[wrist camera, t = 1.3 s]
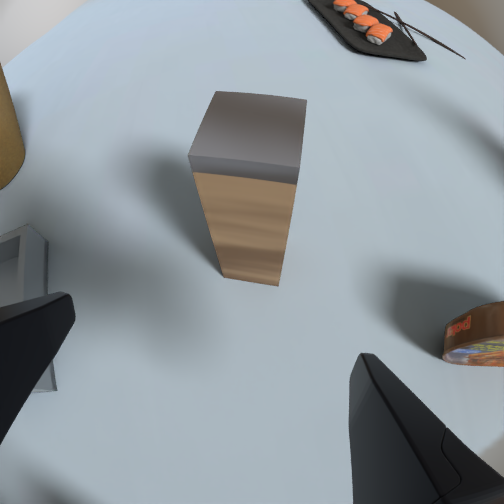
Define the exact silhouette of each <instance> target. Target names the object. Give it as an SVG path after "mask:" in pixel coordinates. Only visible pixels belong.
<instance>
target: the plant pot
mask: <svg viewBox="0 0 504 504" xmlns="http://www.w3.org/2000/svg"><path fill="white" fill-rule="evenodd" d="M24 157H25V149H24V145H23V141H22V136H21V132H20V128H19V124H18V120H17V117H16V113H15V109H14V106H13V102H12V99H11V95H10V92H9V89H8V85H7V82H6V79H5V76H4V73H3V70H2V67H1V63H0V189H2V188H3V187H5V186H6V185H7V184H8V183H9V182H10V181H11V180H12V179H13V177H14V176H15V175H16V174H17V172H18V171H19V169H20V167H21V165H22V163H23V161H24Z"/></svg>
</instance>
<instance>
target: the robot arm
mask: <svg viewBox="0 0 504 504" xmlns="http://www.w3.org/2000/svg"><path fill="white" fill-rule="evenodd" d="M75 317H76V316H75V310H74V305H73V300H72V297H71V295H70V294H67V293H64V292H56V293H53V294H49V295H45V296H41V297H37V298H33V299H30V300H26V301H22V302H18V303H14V304H10V305H7V306H3V307H0V445H1V443H2V441H3V439H4V437H5V436H6V434H7V432H8V430H9V429H10V427H11V425H12V423H13V422H14V420H15V418H16V416H17V415H18V413H19V411H20V410H21V408H22V406H23V405H24V403H25V402H26V400H27V398H28V397H29V395H30V394H31V392H32V390H33V389H34V387H35V386H36V384H37V383H38V381H39V380H40V378H41V377H42V375H43V373H44V372H45V370H46V369H47V368H48V366H49V365H50V363H51V362H52V360H53V359H54V357H55V355H56V354H57V352H58V350H59V349H60V347H61V345H62V343H63V341H64V340H65V338H66V336H67V334H68V333H69V331H70V329H71V327H72V326H73V324H74V322H75ZM349 438H350V451H351V465H352V484H353V504H504V477H502V476H501V475H500V474H499V473H498V472H496V471H495V470H494V469H493V468H492V467H490V466H489V465H488V464H486V462H484V461H483V460H482V459H481V458H480V457H478V456H477V455H476V454H475V453H474V452H473V451H471V450H470V449H469V448H468V447H467V446H466V445H465V444H464V443H463V442H462V441H461V440H460V439H459V438H458V437H457V436H456V435H455V434H454V433H453V432H452V431H451V430H450V429H449V428H446V425H445V424H444V423H443V422H442V421H441V420H440V419H439V418H438V417H437V416H436V415H435V414H434V413H433V412H432V411H431V410H430V409H429V408H428V407H427V406H426V405H425V404H424V403H423V402H422V401H421V400H420V399H419V398H418V397H417V396H416V395H415V394H414V393H413V392H412V391H411V390H410V389H409V388H408V387H407V386H406V385H405V384H404V383H403V382H402V381H401V380H400V379H399V378H398V377H397V376H396V375H395V374H394V373H393V372H392V371H391V370H390V369H389V368H388V367H387V366H386V365H385V364H384V363H383V362H382V361H381V360H380V359H379V358H378V357H377V356H375V355H374V354H370V353H361V354H359V356H358V358H357V360H356V363H355V365H354V368H353V370H352V373H351V376H350V386H349Z"/></svg>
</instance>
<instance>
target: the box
mask: <svg viewBox="0 0 504 504" xmlns="http://www.w3.org/2000/svg"><path fill="white" fill-rule="evenodd" d="M47 262H48V241H47V240H46V239H44V238H43V237H42V236H41V235H40V234H39V233H37V232H36V231H35V230H34V229H33V228H32V227H31V226H29V225H28V224H27V225H24V226H22V227H20V228H18V229H15V230H13V231H11V232H9V233H6V234H4V235H2V236H0V307H3V306H7V305H10V304H14V303H18V302H22V301H26V300H30V299H33V298H37V297H41V296H45V295H48V293H47ZM49 391H57V387H56V381H55V374H54V368H53V360H52V362H51V363H50V365H49V366H48V368H47V369H46V370H45V372H44V373H43V375H42V377H41V378H40V380H39V381H38V383H37V384H36V386H35V387H34V389H33V390H32V392H31V393H37V392H49Z"/></svg>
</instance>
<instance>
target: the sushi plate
mask: <svg viewBox="0 0 504 504" xmlns="http://www.w3.org/2000/svg"><path fill="white" fill-rule="evenodd" d="M308 1H309V2H310V3H311V4H312V5H313V6H314V7H315V8H316V9H317V10H318V11H319V12H320V13H321V14H322V15H323V17H324V18H325V19H326V20H327V21H328V22H329V23H330V24H331V25H332V26H333V27H334V28H335V30H336V31H337V32H338V33H339V34H340V35H341V36H342V37H343V39H344V40H345V41H346V42H347V43H348V44H349V45H351V46H352V47H353V48H355V49H357V50H359V51H361V52H365V53H369V54H375V55H381V56H388V57H395V58H402V59H408V60H415V61H425V60H427V57H426V55H425V54H424V52H423V51H422V50H421V49H420V48H419V47H418V46H417V44H416V42H415V41H414V39H413V37H412V36H411V34H410V33H409V31H408V30H407V28H406V27H405V25H406V26H408V27H410V28H412V29H414V30H416V31H418V32H419V33H421V34H423V35H424V36H426V37H428V38H430V39H431V40H433V41H434V42H436V43H438V44H439V45H441V46H443V47H444V48H446V49H448V50H450V51H452V52H454V53H455V54H457V55H459V56H461V55H460V54H458V53H457V52H455V51H454V50H452V49H450V48H449V47H447V46H446V45H444V44H442V43H441V42H439V41H437V40H436V39H434V38H432V37H430V36H429V35H427V34H425V33H423V32H422V31H420V30H418V29H416V28H414V27H412V26H410V25H408V24H406V23H404V22H402V20H401V19H400V17H399V16H398V14H397V13H396V12H394V13H395V15H396V17H397V19H396V18H394V17H392V16H390V15H388V14H386V13H384V12H381V11H379V10H377V9H375V8H373V7H372V6H371V5H369V4H368V3H366V2H364V1H361V0H308ZM381 13H382V14H384V15H386V16H389V17H391V18H393V19H395V20H397V21H399V22H400V23H401V24H402V26H403V27H404V29H405V30H406V32H407V33H408V35H409V36H410V38H411V39H412V40H411V39H410V38H409V37H407V36H406V35H405V34H404V33H403V32H402V31H401V30H400V29H399V28H398V27H396V26H395V25H394V24H393V23H392V22H391V21H389V20H388V19H387V18H386V17H385V16H383V15H382V14H381ZM404 24H405V25H404ZM461 57H462V58H464V57H463V56H461ZM464 59H465V58H464Z"/></svg>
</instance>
